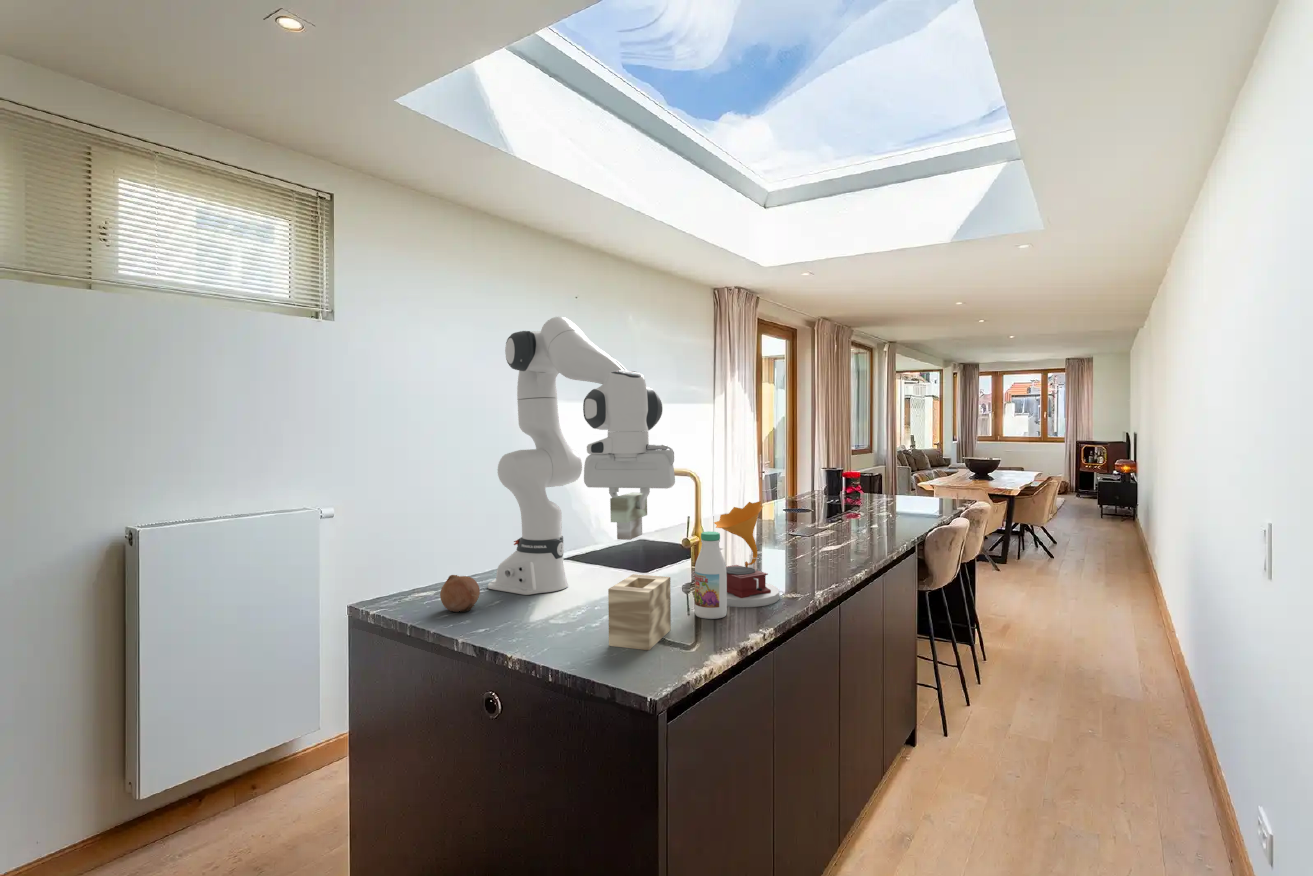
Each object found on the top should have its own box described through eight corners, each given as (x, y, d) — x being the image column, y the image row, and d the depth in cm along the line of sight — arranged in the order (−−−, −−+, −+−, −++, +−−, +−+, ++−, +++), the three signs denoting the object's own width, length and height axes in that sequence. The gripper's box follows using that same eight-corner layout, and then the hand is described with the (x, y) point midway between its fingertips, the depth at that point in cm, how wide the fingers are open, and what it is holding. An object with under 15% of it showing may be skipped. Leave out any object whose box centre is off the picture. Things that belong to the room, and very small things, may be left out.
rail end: (627, 541, 142) (626, 498, 142) (611, 541, 144) (610, 498, 143) (647, 532, 154) (646, 492, 153) (632, 532, 155) (631, 492, 155)
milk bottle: (709, 608, 171) (708, 528, 170) (733, 615, 165) (733, 532, 165) (688, 615, 166) (687, 532, 165) (712, 622, 160) (712, 536, 159)
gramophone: (745, 583, 196) (745, 496, 196) (796, 599, 179) (796, 504, 178) (686, 593, 185) (686, 501, 185) (734, 612, 168) (734, 510, 167)
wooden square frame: (649, 650, 141) (648, 592, 141) (608, 645, 144) (608, 589, 144) (670, 630, 154) (670, 577, 154) (633, 626, 157) (633, 574, 157)
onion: (445, 623, 171) (427, 587, 171) (476, 605, 177) (459, 570, 177) (460, 617, 164) (442, 579, 164) (492, 599, 170) (474, 562, 171)
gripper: (678, 444, 148) (679, 508, 148) (592, 444, 155) (593, 506, 155) (668, 445, 142) (670, 511, 142) (579, 445, 149) (581, 509, 149)
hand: (629, 508), depth 149 cm, fingers closed on rail end, 4 cm apart
